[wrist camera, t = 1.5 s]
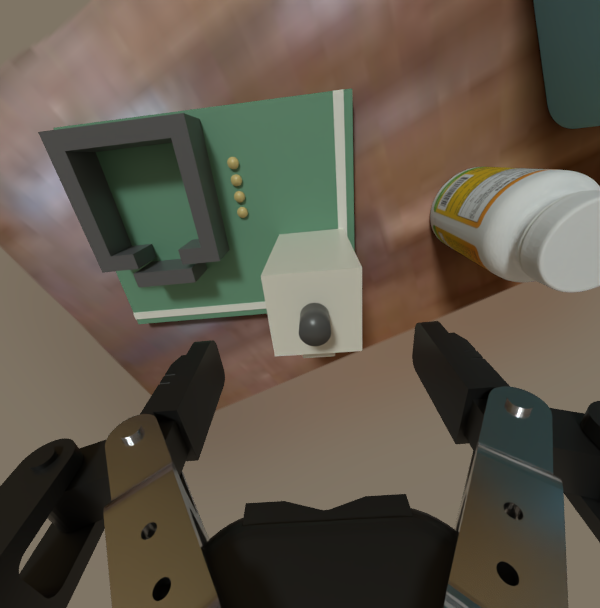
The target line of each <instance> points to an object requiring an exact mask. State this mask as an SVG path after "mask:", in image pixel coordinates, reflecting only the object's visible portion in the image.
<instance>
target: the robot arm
mask: <svg viewBox="0 0 600 608" xmlns="http://www.w3.org/2000/svg"><path fill="white" fill-rule="evenodd" d="M412 358H413V365H414V368H415V371H416V372H417V374H418V376H419V378H420V380H421V382H422V383H423V385H424V387H425V389H426V391H427V393H428V394H429V396H430V398H431V400H432V402H433V403H434V405H435V407H436V409H437V411H438V413H439V414H440V416H441V418H442V420H443V422H444V424H445V425H446V427H447V429H448V431H449V433H450V435H451V436H452V438H453V440H454V442H455V444H465V443H470V445H471V447H472V449H473V455H472V458H471V462H470V466H469V471H468V475H467V479H466V484H465V488H464V492H463V496H462V501H461V505H460V509H459V513H458V517H457V521H456V525H455V529H453V528H452V527H450V526H449V525H447V524H446V523H444V522H442V521H440V520H439V519H437V518H435V517H433V516H431V515H429V514H427V513H424V512H422V511H419V510H416V509H412V508H410V506H409V502H408V499H407V496H406V494H399V495H382V496H366V497H363V498H360V499H357V500H355V501H352V502H349V503H346V504H344V505H341V506H338V507H335V508H333V509H330V510H319V509H315V508H310V507H306V506H302V505H298V504H294V503H290V502H286V501H281V502H263V503H246V507H245V512H244V518H241V519H239V520H237V521H235V522H233V523H231V524H229V525H228V526H227V527H225V528H223V529H222V530H220V531H219V532H218V533H217V534H216V535H214V536H213V537H212V538H211V539H209V537H208V535H207V532H206V530H205V528H204V525H203V523H202V521H201V518H200V515H199V513H198V510H197V508H196V505H195V503H194V500H193V497H192V495H191V492H190V490H189V487H188V485H187V482H186V479H185V477H184V474H183V472H182V469H183V467H184V464H185V461H195V460H198V459H199V457H200V454H201V451H202V448H203V445H204V442H205V439H206V436H207V433H208V430H209V427H210V424H211V421H212V418H213V416H214V413H215V410H216V407H217V404H218V401H219V398H220V395H221V392H222V389H223V386H224V381H225V374H224V369H223V365H222V362H221V358H220V355H219V352H218V348H217V345H216V343H215V341H201V342H194V343H193V344H192V346H191V348H190V350H189V351H188V353H187V355H183V356H181V357H180V358H178V359H177V360H176V361H175V362H174V363H173V364H171V366H170V368H169V369H168V371H167V372H166V374H165V376H164V377H163V379H162V380H161V382H160V385H158V386H157V388H156V390H155V391H154V393H153V394H152V396H151V398H150V399H149V401H148V402H147V404H146V406H145V407H144V409H143V410H142V412H141V413H140V415H137V416H133V417H131V418H129V419H127V420H125V421H123V422H122V423H121V424H119V425H118V426H117V427H116V428H115V429H114V430H113V431H112V432H111V433H110V435H109V436H108V438H107V440H104V441H101V442H98V443H95V444H92V445H89V446H86V447H83V448H80V449H79V448H78V447H77V445H76V444H75V443H74V441H73V440H71V439H59V440H55V441H53V442H50V443H48V444H46V445H44V446H42V447H40V448H38V449H37V450H35V451H34V452H32V453H31V454H30V455H29V456H27V457H26V458H25V459H24V460H23V461H22V462H21V463H20V464H19V465H18V467H17V468H16V469H15V470H14V471H13V472H12V473H11V475H10V476H9V477H8V478H7V479H6V480H5V481H4V483H3V484H2V485H1V486H0V608H66V607H67V605H68V603H69V601H70V599H71V597H72V595H73V593H74V591H75V589H76V586H77V585H78V582H79V580H80V578H81V576H82V574H83V572H84V570H85V568H86V566H87V564H88V562H89V560H90V558H91V556H92V554H93V551H94V549H95V547H96V545H97V543H98V541H99V539H100V537H101V535H102V533H103V531H104V529H105V535H106V536H105V537H106V547H107V558H108V569H109V579H110V590H111V601H112V608H568V590H567V565H566V545H565V544H566V542H565V520H564V496H563V493H564V494H565V495H566V497H567V498H568V499H569V501H570V502H571V504H572V505H573V506H574V508H575V509H576V510H577V512H578V513H579V515H580V516H581V517H582V519H583V520H584V521H585V523H586V524H587V526H588V527H589V528H590V530H591V531H592V532H593V534H594V535H595V536H596V538H597V539H598V541H599V542H600V401H597V402H593V403H592V404H590V405H589V407H588V409H587V411H586V413H585V414H583V413H577V412H571V411H564V410H559V409H553V408H549V407H548V405H547V404H546V403H545V402H544V401H542V400H541V399H540V398H538V397H537V396H535V395H533V394H532V393H530V392H527V391H525V390H522V389H519V388H514V387H510V386H509V385H508V384H507V383H506V382H505V381H504V380H503V379H502V377H501V376H500V375H499V374H498V373H497V372H496V371H495V370H494V369H493V368H492V366H491V365H490V364H489V363H488V362H487V361H486V360H485V359H483V357H482V356H481V355H480V354H479V353H478V351H476V350H475V348H474V347H473V346H472V345H471V344H470V343H469V342H468V341H467V340H466V339H464V338H462V337H460V336H459V335H457V334H455V333H448V332H447V330H446V329H445V328H444V327H443V326H442V325H441V323H439V322H438V321H433V322H422V323H417V324H416V326H415V334H414V344H413V355H412ZM47 518H48V519H49V520H50V521H51V522H52V524H51V525H50V527H49V528H48V530H47V532H46V533H45V535H44V536H43V538H42V539H41V541H40V543H39V544H38V546H37V547H36V549H35V550H34V552H33V554H32V555H31V557H30V558H29V560H28V561H27V563H26V565H25V566H24V568H23V570H22V571H21V573H20V574H19V565H20V561H21V559H22V556H23V554H24V553H25V551H26V549H27V548H28V546H29V545H30V543H31V542H32V540H33V538H34V537H35V535H36V534H37V532H38V531H39V530H40V528H41V526H42V525H43V523H44V522H45V521H46V519H47Z"/></svg>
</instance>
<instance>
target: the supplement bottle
mask: <svg viewBox="0 0 600 608" xmlns="http://www.w3.org/2000/svg"><path fill="white" fill-rule="evenodd" d="M430 221H431V226H432V229H433V232H434V234H435V235H436V237H437V238H438V239H439V240H440V241H441V242H443V243H444V244H445V245H447V246H449V247H450V248H452V249H453V250H455V251H457V252H459V253H460V254H462V255H464V256H465V257H467V258H469V259H470V260H472V261H473V262H475V263H477V264H478V265H480V266H482V267H483V268H485V269H486V270H488V271H490V272H491V273H493V274H495V275H497V276H499V277H501V278H503V279H506V280H509V281H514V282H534V281H537V282H540V283H542V284H544V285H546V286H548V287H550V288H552V289H554V290H557V291H562V292H581V291H586V290H589V289H593V288H596V287H598V286H600V186H599V185H598V184H597V183H596V182H595V181H594V180H593V179H591V178H590V177H589V176H587V175H584V174H582V173H579V172H575V171H569V170H558V169H524V168H500V167H475V168H471V169H467V170H465V171H462V172H460V173H458V174H457V175H455V176H454V177H452V178H451V179H450V180H449V181H448V182H446V183H445V185H444V186H443V187H442V188H441V189H440V191H439V192H438V194H437V195H436V197H435V199H434V201H433V204H432V208H431V213H430Z"/></svg>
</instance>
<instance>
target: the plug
mask: <svg viewBox="0 0 600 608" xmlns="http://www.w3.org/2000/svg"><path fill="white" fill-rule="evenodd" d="M261 281H262V286H263V292H264V297H265V303H266V309H267V314H268V320H269V325H270V331H271V337H272V342H273V348H274V353H275V356H288V355H303V358H313V357H330V356H335V353H338V352H354V351H362V266H361V264H360V262H359V260H358V258H357V256H356V254H355V252H354V250H353V247H352V245H351V243H350V241H349V239H348V237H347V235H346V233H345V230H344V228H341V229H331V230H320V231H310V232H299V233H289V234H279V236H278V238H277V241H276V243H275V245H274V247H273V249H272V252H271V254H270V256H269V258H268V261H267V263H266V265H265V267H264V270H263V272H262V274H261Z"/></svg>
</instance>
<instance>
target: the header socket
mask: <svg viewBox="0 0 600 608" xmlns="http://www.w3.org/2000/svg"><path fill="white" fill-rule="evenodd" d="M38 133H39V135H40V137H41V139H42V141H43V144H44V146H45V148H46V150H47V152H48V155H49V157H50V159H51V161H52V163H53V165H54V168H55V170H56V172H57V174H58V176H59V178H60V181H61V183H62V185H63V187H64V189H65V192H66V194H67V196H68V198H69V200H70V202H71V205H72V207H73V209H74V211H75V213H76V216H77V218H78V220H79V222H80V224H81V226H82V229H83V231H84V233H85V235H86V237H87V239H88V242H89V244H90V246H91V248H92V250H93V253H94V255H95V257H96V259H97V261H98V263H99V266H100V268H101V270H102V272H112V271H123V270H133V269H139V268H141V267H142V266H144V265H145V264H147V263H148V262H150V261H151V260H153V259H154V258H156V254H155V251H154V248H153V245H152V244H145V245H135V246H132V244H131V242H130V239H129V237H128V234H127V232H126V229H125V226H124V224H123V221H122V219H121V216H120V214H119V211H118V208H117V206H116V203H115V201H114V198H113V196H112V193H111V190H110V188H109V185H108V183H107V180H106V178H105V175H104V172H103V170H102V167H101V165H100V162H99V160H98V157H97V154H96V152H100V151H108V150H116V149H124V148H132V147H140V146H148V145H156V144H164V143H172V144H173V147H174V151H175V155H176V158H177V162H178V165H179V169H180V173H181V176H182V180H183V184H184V187H185V191H186V195H187V198H188V202H189V206H190V209H191V213H192V217H193V220H194V224H195V228H196V231H197V235H198V239H194V240H191V241H190V242H188V243H187V244H185V245H184V246H183V247H181V248H180V249H179V250H178V251H179V255H180V258H181V259H173V260H163V261H152V262H150V263H149V264H147V265H146V266H144V267H143V268H141V269H140V270H138V271H137V272H135V273H134V274H133V275H134V277H135V280H136V282H137V285H138V287H139V288H140V287H150V286H161V285H172V284H183V283H194V282H196V281H197V280H198V279H199V278H200V277H201V276H202V275H203V274H204V272H205V271H206V270H207V266H206V262H216V261H221V260H222V258H223V257H224V256H225V255H226V253H227V252H228V251H229V246H228V241H227V237H226V232H225V228H224V223H223V219H222V215H221V210H220V206H219V201H218V197H217V193H216V188H215V184H214V179H213V175H212V170H211V166H210V162H209V157H208V153H207V148H206V144H205V140H204V135H203V131H202V126H201V122H200V119H198V118H196V117H193V116H190V115H188V114H185V113H180V114H172V115H164V116H157V117H149V118H142V119H134V120H127V121H119V122H111V123H104V124H96V125H89V126H81V127H73V128H66V129H58V130H51V131H43V132H38ZM227 164H228V166H229V168H231V169H237V168H238V166H239V161H238V159H237V158H236V157H230V158H229V159H228V160H227ZM231 183H232V184H233V185H234V186H240V185H241V184H242V178H241V176H240V175H238V174H235V175H233V176H232V177H231ZM234 199H235V200H236V201H237V202H239V203H241V202H243V201H244V200H245V194H244V193H243V192H242V191H237V192H236V193H235V194H234ZM237 214H238V216H239V217H241V218H245V217H246V216H247V215H248V210H247V209H246V208H245V207H240V208H239V209H238V210H237Z"/></svg>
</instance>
